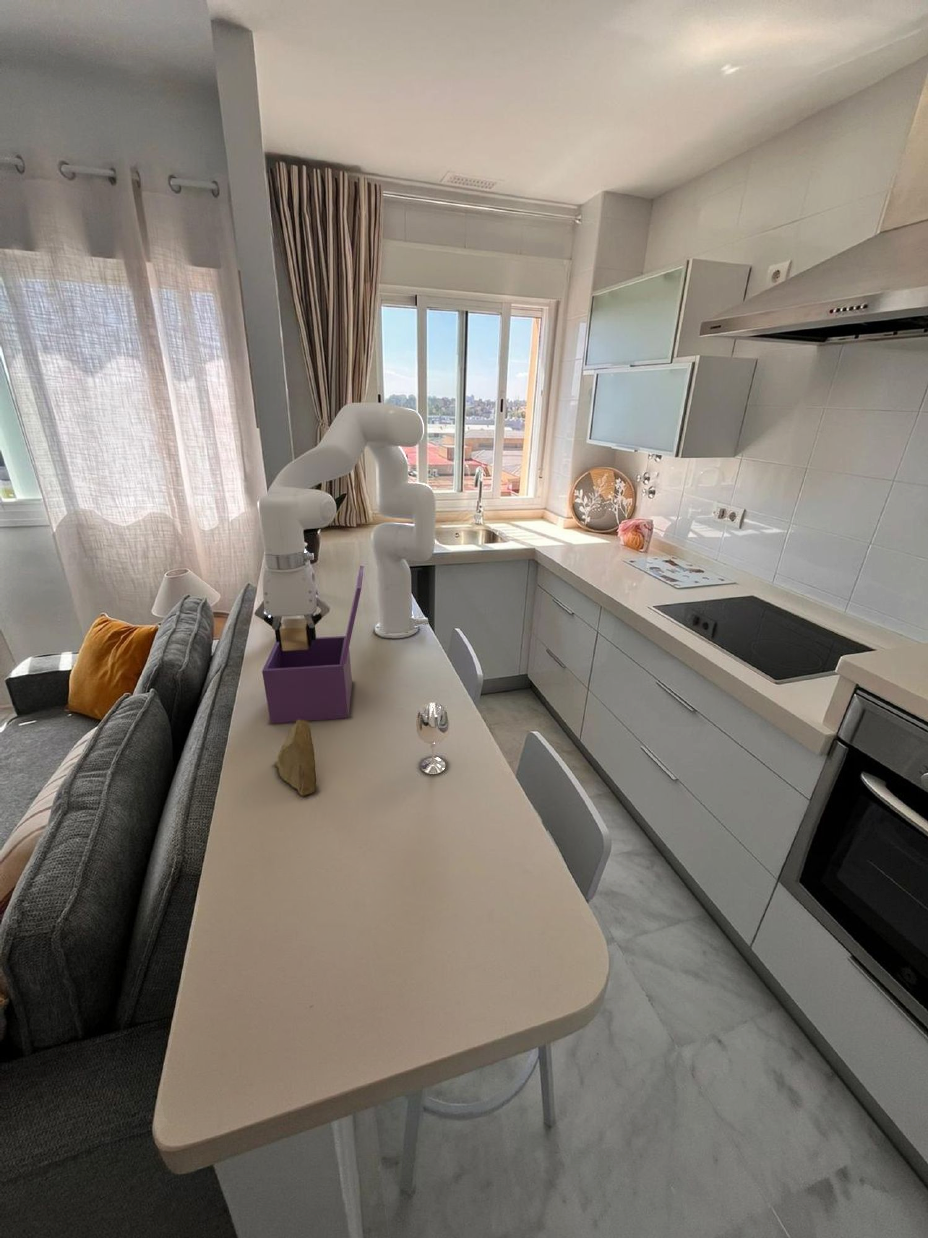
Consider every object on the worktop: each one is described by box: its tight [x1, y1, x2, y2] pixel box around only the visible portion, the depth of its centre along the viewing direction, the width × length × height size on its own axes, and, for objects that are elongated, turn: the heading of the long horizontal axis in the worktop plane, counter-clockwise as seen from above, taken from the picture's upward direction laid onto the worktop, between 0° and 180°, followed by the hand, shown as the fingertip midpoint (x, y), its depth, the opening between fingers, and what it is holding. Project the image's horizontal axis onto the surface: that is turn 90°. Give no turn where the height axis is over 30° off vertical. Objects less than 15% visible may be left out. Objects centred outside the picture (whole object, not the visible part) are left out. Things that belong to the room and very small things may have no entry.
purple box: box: [261, 635, 353, 725], centre depth 107 cm, size 16×15×12 cm
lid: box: [341, 565, 365, 664], centre depth 103 cm, size 16×15×1 cm
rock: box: [275, 719, 317, 797], centre depth 85 cm, size 11×9×10 cm
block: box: [280, 617, 309, 651], centre depth 102 cm, size 5×5×5 cm
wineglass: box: [415, 702, 450, 775], centre depth 87 cm, size 6×6×12 cm
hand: (297, 643), depth 103 cm, fingers closed on block, 5 cm apart
